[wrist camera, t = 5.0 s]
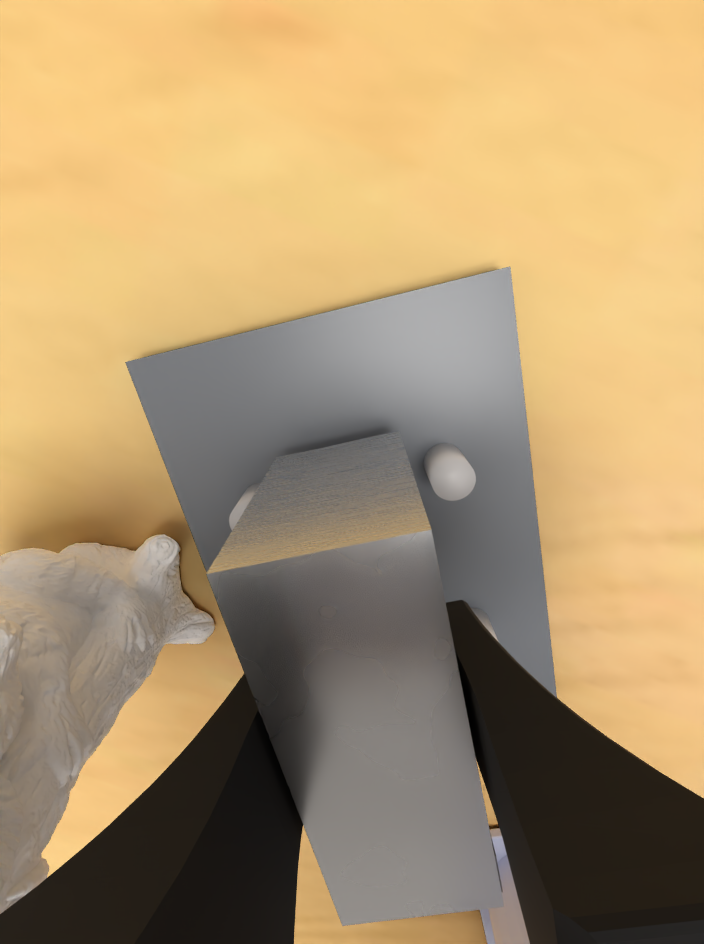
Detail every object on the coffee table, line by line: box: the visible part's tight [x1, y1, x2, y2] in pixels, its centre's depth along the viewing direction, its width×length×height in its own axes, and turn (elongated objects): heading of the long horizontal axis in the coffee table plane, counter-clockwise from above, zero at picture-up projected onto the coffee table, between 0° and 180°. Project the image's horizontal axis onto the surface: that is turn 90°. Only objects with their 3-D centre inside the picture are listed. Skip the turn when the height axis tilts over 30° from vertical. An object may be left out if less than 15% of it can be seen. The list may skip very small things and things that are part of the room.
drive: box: [206, 431, 504, 926], centre depth 11 cm, size 9×4×6 cm, turn 13°
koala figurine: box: [0, 534, 215, 914], centre depth 11 cm, size 8×7×12 cm
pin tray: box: [125, 267, 557, 698], centre depth 15 cm, size 16×11×3 cm
